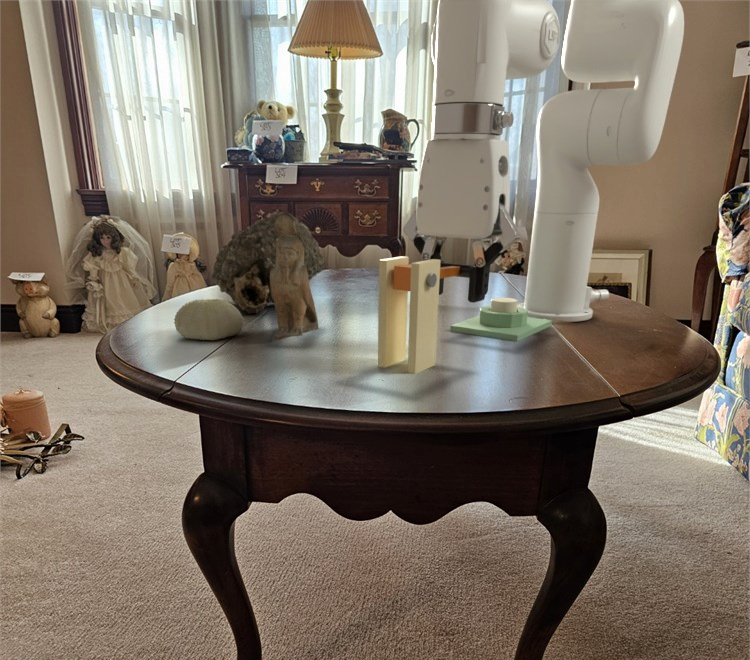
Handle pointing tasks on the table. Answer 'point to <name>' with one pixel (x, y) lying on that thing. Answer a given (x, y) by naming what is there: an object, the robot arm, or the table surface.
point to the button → (504, 305)
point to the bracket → (420, 317)
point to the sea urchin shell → (208, 320)
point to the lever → (446, 270)
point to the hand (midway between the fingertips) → (455, 296)
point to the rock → (258, 262)
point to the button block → (502, 324)
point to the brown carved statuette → (291, 283)
